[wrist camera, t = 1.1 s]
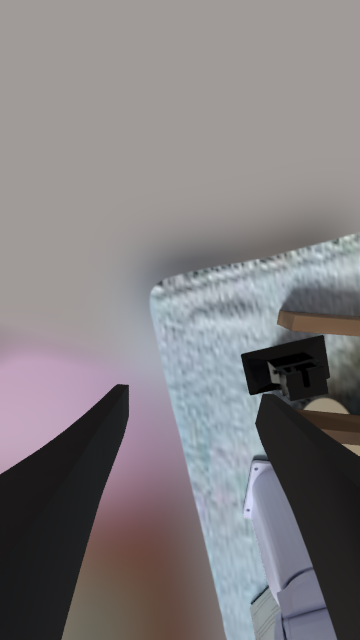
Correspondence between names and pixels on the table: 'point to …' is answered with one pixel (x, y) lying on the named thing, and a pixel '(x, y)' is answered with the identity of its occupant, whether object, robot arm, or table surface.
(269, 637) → the skincare box
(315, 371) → the black piece
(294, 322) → the walled channel
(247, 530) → the table surface
